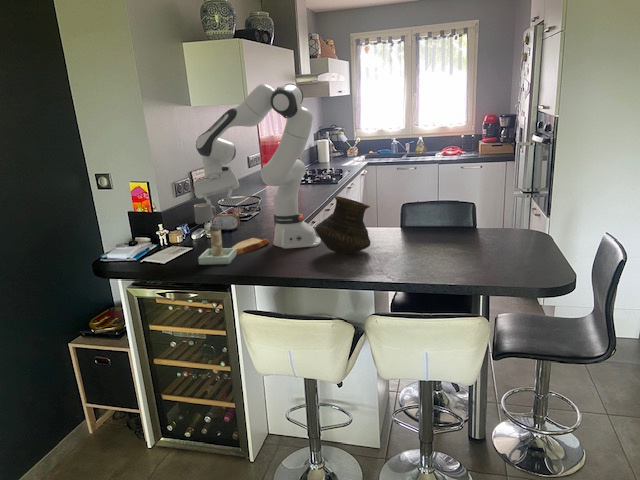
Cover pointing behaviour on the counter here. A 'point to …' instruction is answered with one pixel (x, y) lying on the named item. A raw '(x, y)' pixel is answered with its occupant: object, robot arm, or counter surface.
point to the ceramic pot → (345, 227)
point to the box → (226, 259)
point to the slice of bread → (250, 245)
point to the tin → (226, 221)
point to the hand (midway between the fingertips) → (219, 200)
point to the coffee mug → (204, 213)
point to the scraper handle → (216, 241)
